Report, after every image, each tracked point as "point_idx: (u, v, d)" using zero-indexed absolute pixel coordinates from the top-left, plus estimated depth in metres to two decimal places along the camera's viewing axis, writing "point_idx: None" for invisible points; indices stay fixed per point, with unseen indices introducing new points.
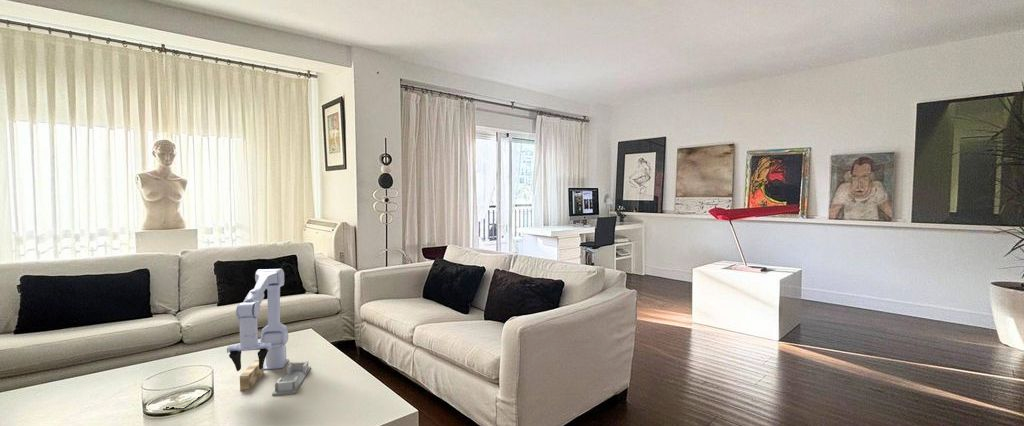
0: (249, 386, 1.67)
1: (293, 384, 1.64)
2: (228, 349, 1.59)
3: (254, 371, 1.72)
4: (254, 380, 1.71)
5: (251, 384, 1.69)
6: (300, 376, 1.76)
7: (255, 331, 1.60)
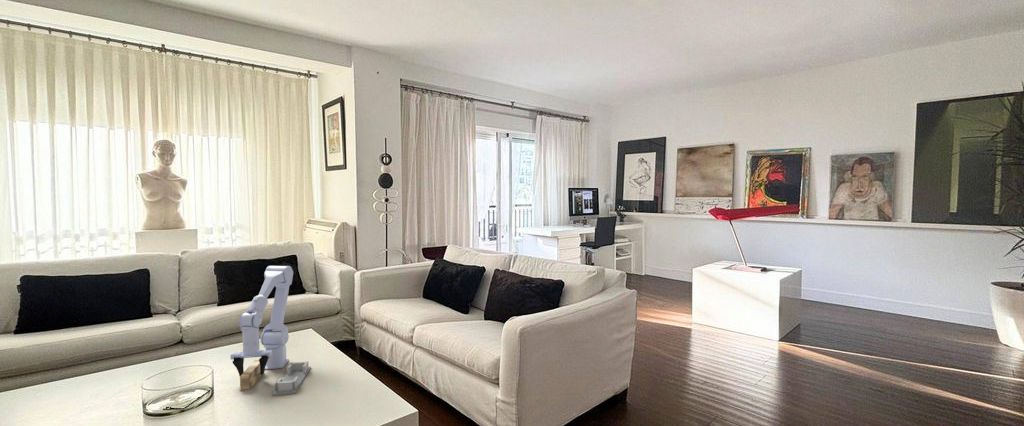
0: (249, 386, 1.67)
1: (293, 384, 1.64)
2: (232, 356, 1.70)
3: (254, 371, 1.72)
4: (254, 380, 1.71)
5: (251, 384, 1.69)
6: (300, 376, 1.76)
7: (255, 340, 1.71)
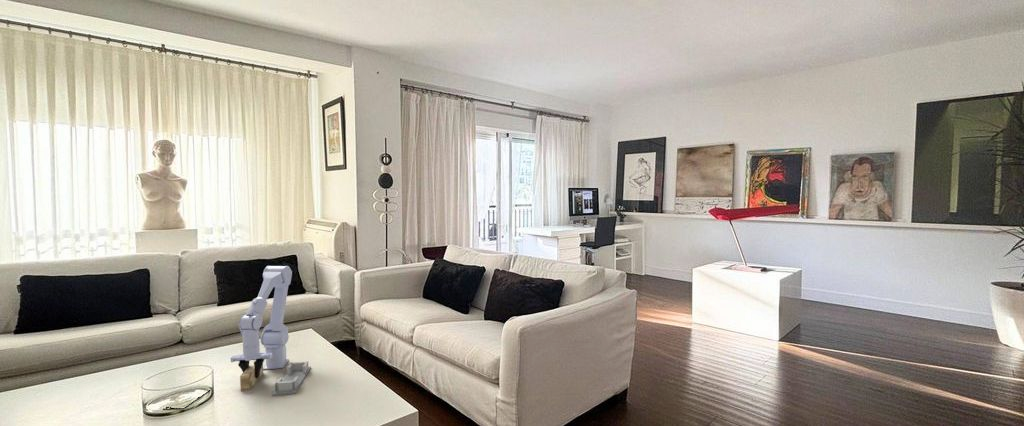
0: (249, 386, 1.67)
1: (293, 384, 1.64)
2: (232, 359, 1.70)
3: None
4: (254, 379, 1.71)
5: (251, 384, 1.69)
6: (300, 376, 1.76)
7: (255, 343, 1.71)
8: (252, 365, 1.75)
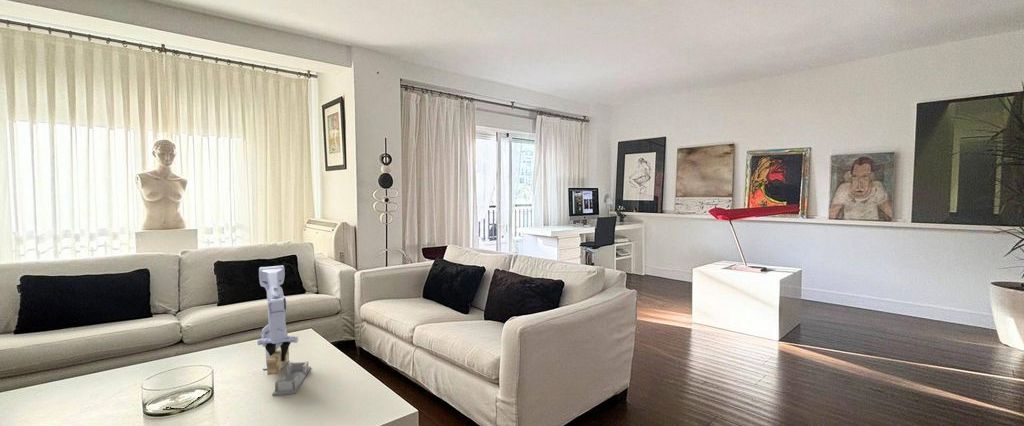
0: (276, 370, 1.66)
1: (293, 384, 1.64)
2: (259, 342, 1.70)
3: (281, 355, 1.72)
4: (280, 364, 1.71)
5: (278, 368, 1.68)
6: (300, 376, 1.76)
7: (285, 324, 1.73)
8: (278, 350, 1.75)
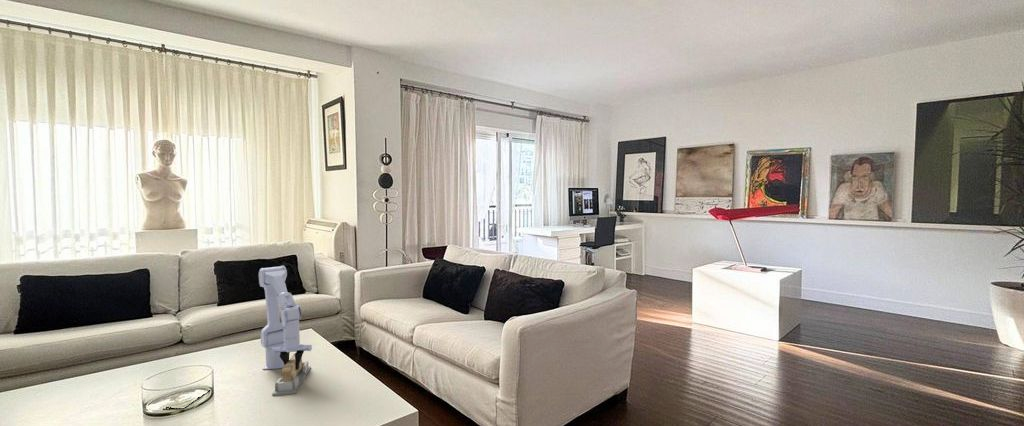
0: (291, 379, 1.67)
1: (293, 384, 1.64)
2: (273, 350, 1.71)
3: (295, 364, 1.72)
4: (295, 373, 1.72)
5: (293, 377, 1.69)
6: (300, 376, 1.76)
7: None
8: (292, 359, 1.75)
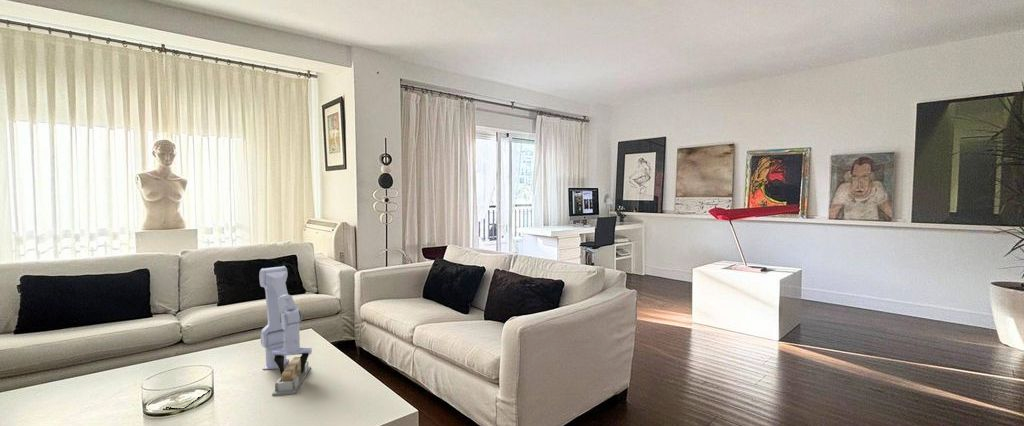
0: None
1: (293, 384, 1.64)
2: (273, 354, 1.71)
3: (295, 368, 1.72)
4: None
5: None
6: (300, 376, 1.76)
7: (299, 335, 1.74)
8: (292, 362, 1.75)
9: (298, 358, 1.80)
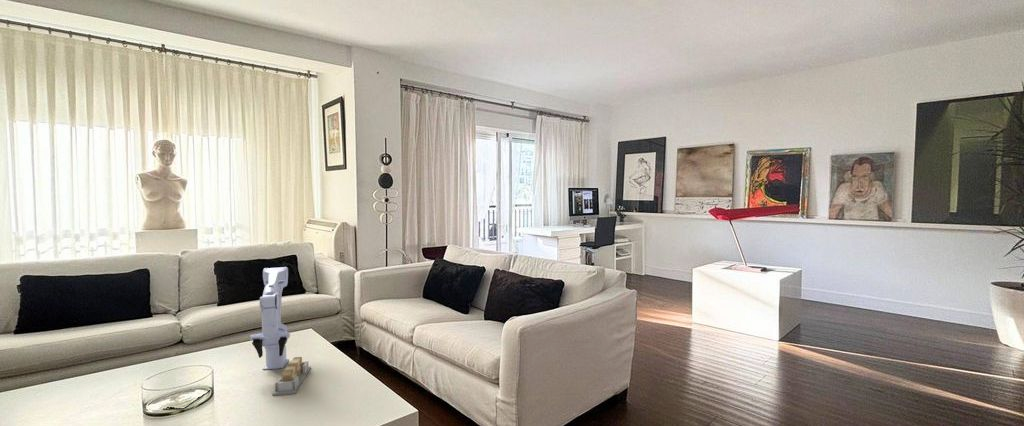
0: None
1: (293, 384, 1.64)
2: (251, 337, 1.73)
3: (295, 368, 1.72)
4: None
5: None
6: (300, 376, 1.76)
7: (276, 320, 1.75)
8: (292, 362, 1.75)
9: (298, 358, 1.80)
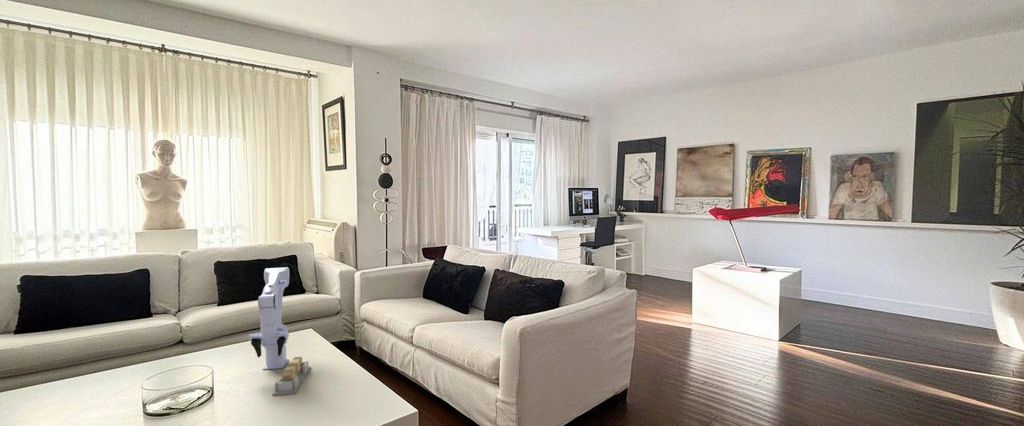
0: None
1: (293, 384, 1.64)
2: (250, 337, 1.73)
3: (295, 368, 1.72)
4: None
5: None
6: (300, 376, 1.76)
7: (275, 320, 1.75)
8: (292, 362, 1.75)
9: (298, 358, 1.80)
